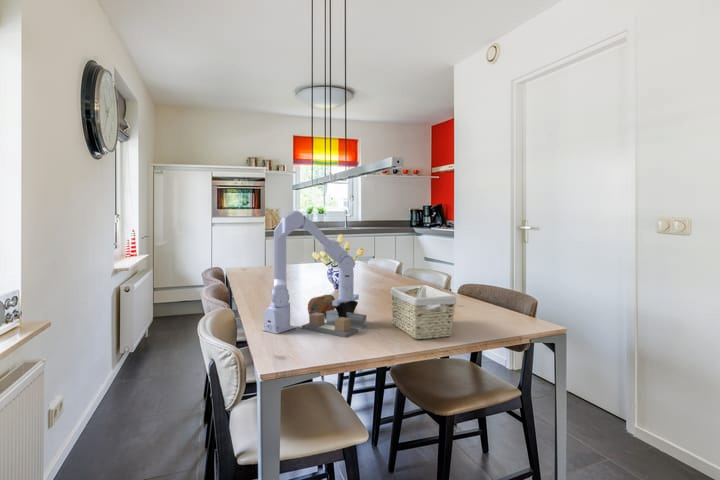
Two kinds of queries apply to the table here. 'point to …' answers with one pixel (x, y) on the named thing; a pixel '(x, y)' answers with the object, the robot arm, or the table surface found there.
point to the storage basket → (423, 311)
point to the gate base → (330, 325)
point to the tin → (321, 304)
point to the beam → (355, 319)
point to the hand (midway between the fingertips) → (346, 321)
